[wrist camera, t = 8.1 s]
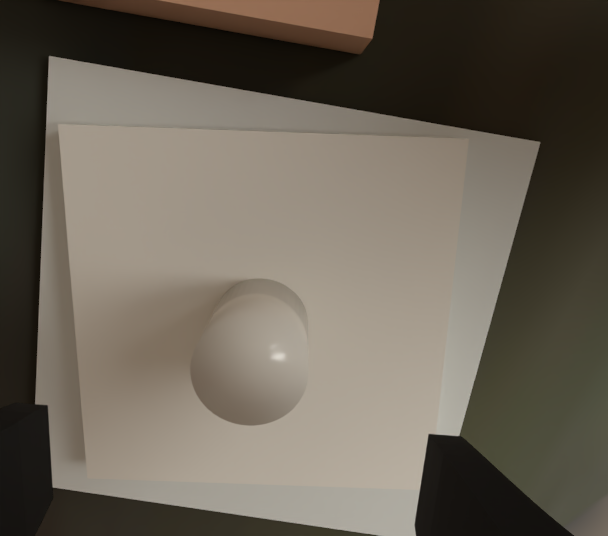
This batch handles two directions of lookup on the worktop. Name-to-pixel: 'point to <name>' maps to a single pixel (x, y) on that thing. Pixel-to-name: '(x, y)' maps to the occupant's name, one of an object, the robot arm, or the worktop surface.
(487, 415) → the worktop surface
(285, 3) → the block
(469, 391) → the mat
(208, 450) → the lid
